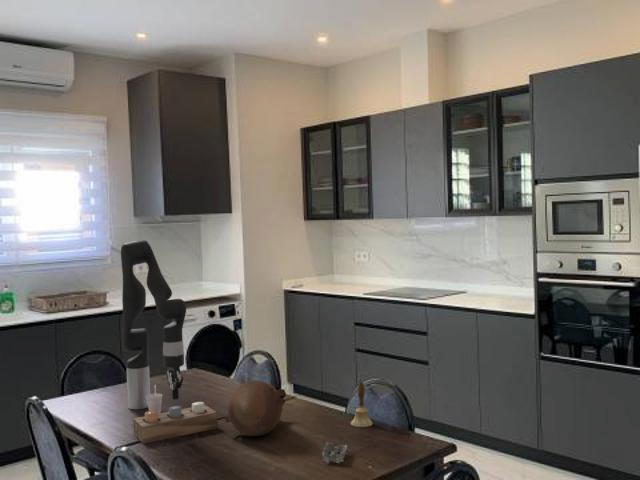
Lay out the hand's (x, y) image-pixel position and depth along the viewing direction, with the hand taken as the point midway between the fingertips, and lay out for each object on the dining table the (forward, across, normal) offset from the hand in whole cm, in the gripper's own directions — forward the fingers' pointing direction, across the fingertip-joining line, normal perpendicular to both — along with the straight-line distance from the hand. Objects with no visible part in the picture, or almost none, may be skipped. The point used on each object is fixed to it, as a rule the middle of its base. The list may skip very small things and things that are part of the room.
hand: (175, 398), depth 237 cm
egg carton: (+12, +58, +33) cm, 68 cm away
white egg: (+9, 0, +9) cm, 13 cm away
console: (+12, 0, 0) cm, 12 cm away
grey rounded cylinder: (+9, 0, 0) cm, 9 cm away
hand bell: (+12, +36, +60) cm, 70 cm away
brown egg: (+9, 0, -9) cm, 13 cm away
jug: (+12, +19, +26) cm, 35 cm away
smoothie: (+13, -19, -2) cm, 23 cm away
